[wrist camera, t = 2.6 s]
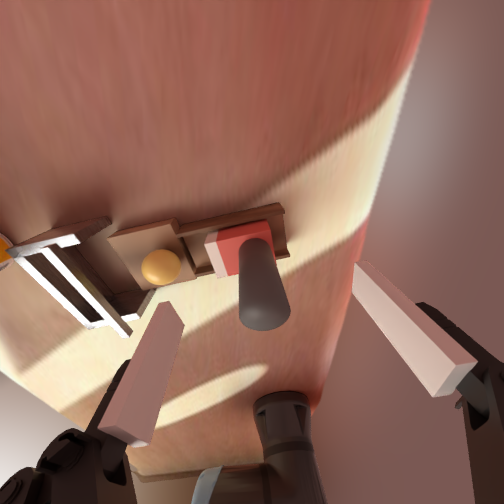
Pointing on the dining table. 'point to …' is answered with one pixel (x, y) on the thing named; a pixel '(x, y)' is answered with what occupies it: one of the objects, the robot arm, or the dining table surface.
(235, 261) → the post on red base
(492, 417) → the robot arm
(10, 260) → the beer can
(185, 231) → the rail
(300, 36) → the dining table surface
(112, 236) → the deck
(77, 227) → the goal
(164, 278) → the ball
